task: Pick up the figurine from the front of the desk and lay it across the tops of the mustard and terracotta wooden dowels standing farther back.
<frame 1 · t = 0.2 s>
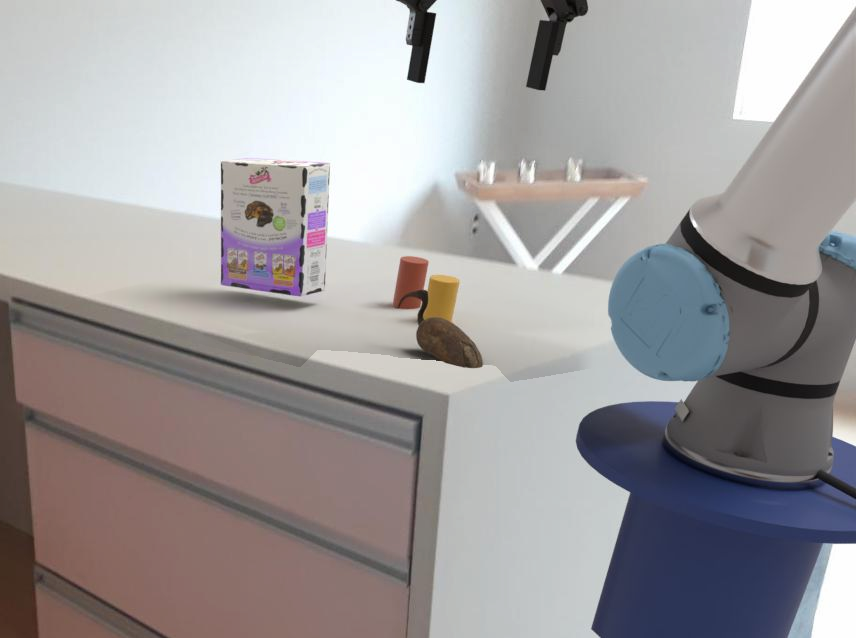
hand: (476, 85, 119), 30 cm above the worktop, tool pointing down, fingers open, 13 cm apart
yellow rod: (434, 333, 144), on the worktop
red rod: (405, 312, 152), on the worktop
figurine: (434, 373, 129), on the worktop
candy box: (271, 289, 155), point 1 cm above the worktop
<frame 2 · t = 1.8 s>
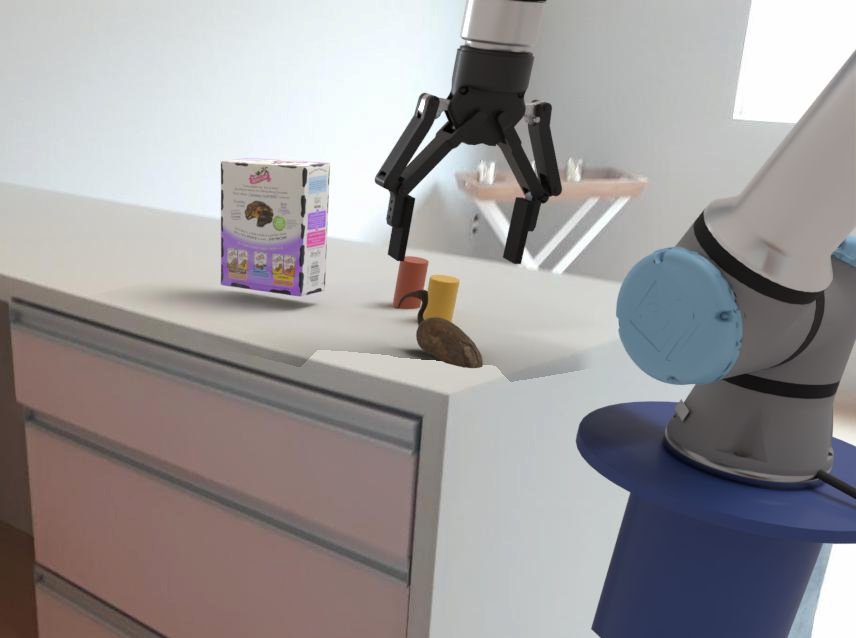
hand: (454, 259, 124), 13 cm above the worktop, tool pointing down, fingers open, 13 cm apart
nothing on the worktop moved.
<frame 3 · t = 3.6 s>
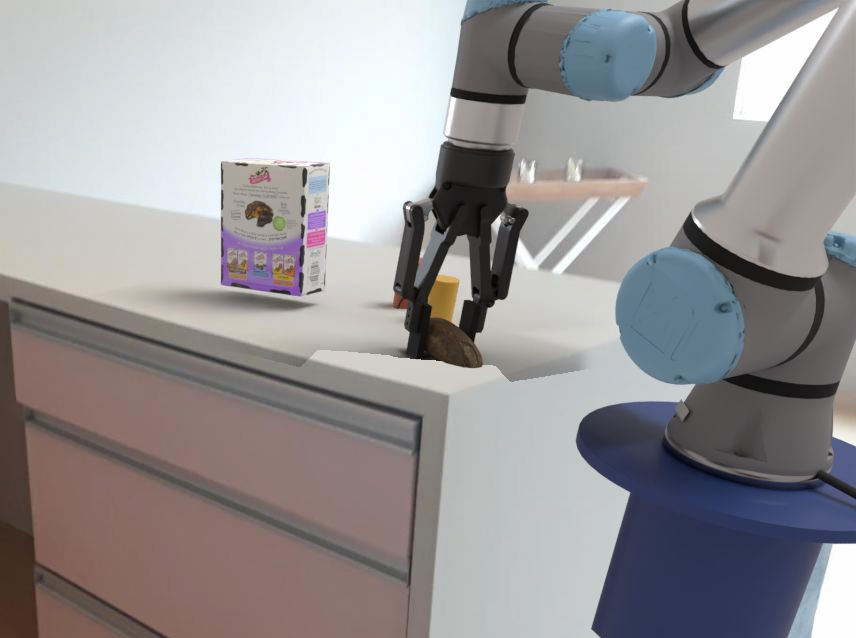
hand: (437, 359, 128), 2 cm above the worktop, tool pointing down, fingers closed on figurine, 5 cm apart
figurine: (433, 373, 129), on the worktop, touching gripper
everything else where it was.
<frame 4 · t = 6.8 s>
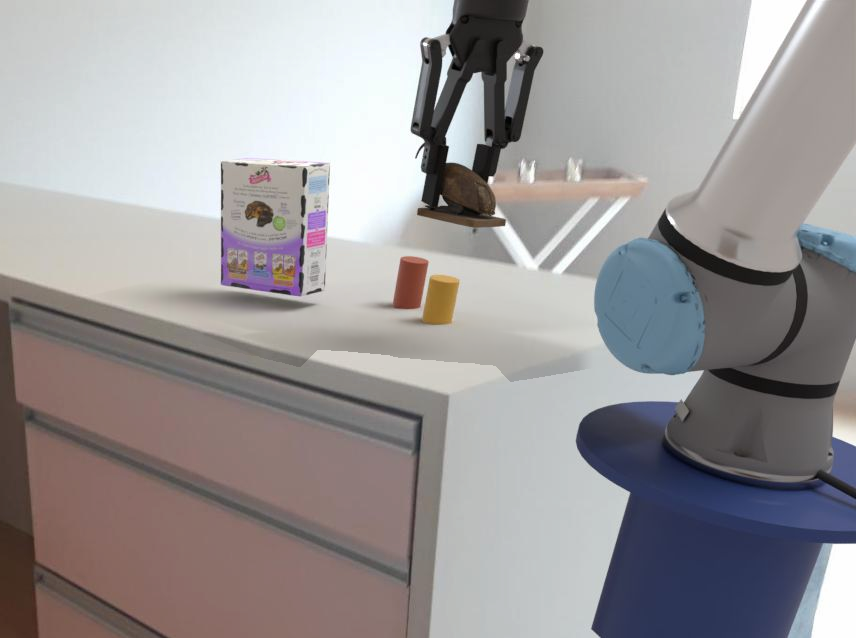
hand: (451, 204, 130), 17 cm above the worktop, tool pointing down, fingers closed on figurine, 5 cm apart
figurine: (447, 220, 131), point 15 cm above the worktop, touching gripper
everything else where it was.
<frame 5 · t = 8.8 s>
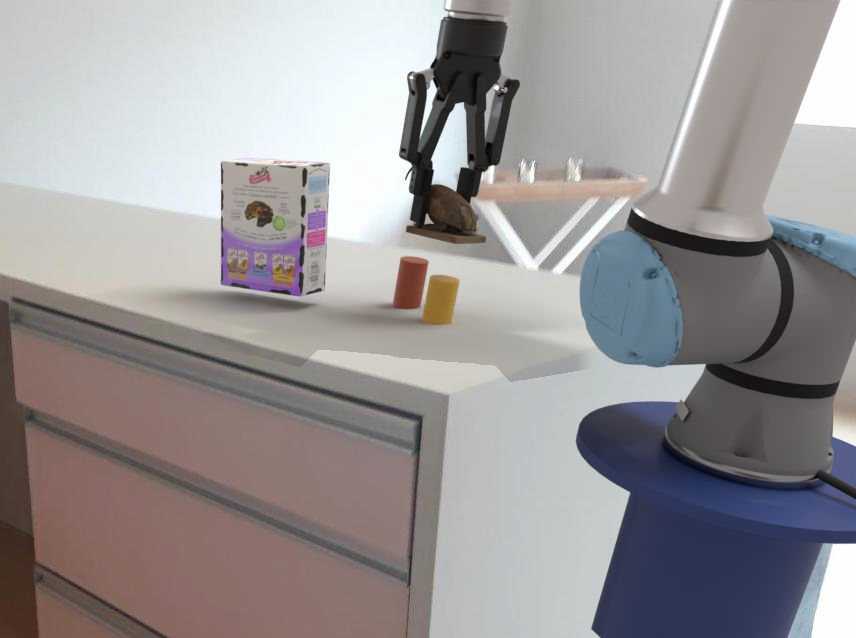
hand: (437, 222, 142), 13 cm above the worktop, tool pointing down, fingers closed on figurine, 5 cm apart
figurine: (433, 236, 143), point 11 cm above the worktop, touching gripper
everything else where it was.
when the fingers open (9 cm above the worktop, at t = 10.2 s): figurine stays where it is, resting on red rod, yellow rod.
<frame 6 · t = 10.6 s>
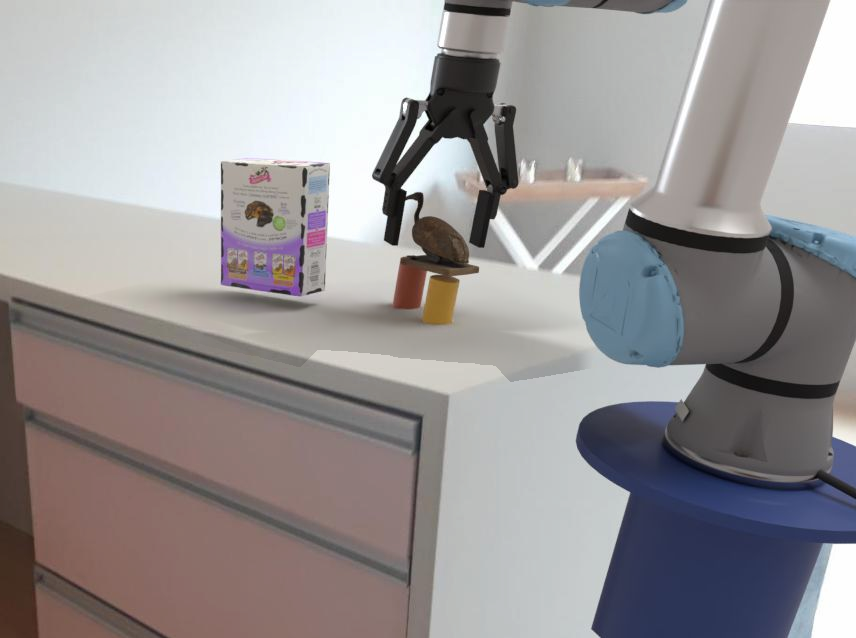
hand: (433, 244, 143), 10 cm above the worktop, tool pointing down, fingers open, 11 cm apart
figurine: (427, 267, 144), point 7 cm above the worktop, touching red rod, yellow rod
everything else where it was.
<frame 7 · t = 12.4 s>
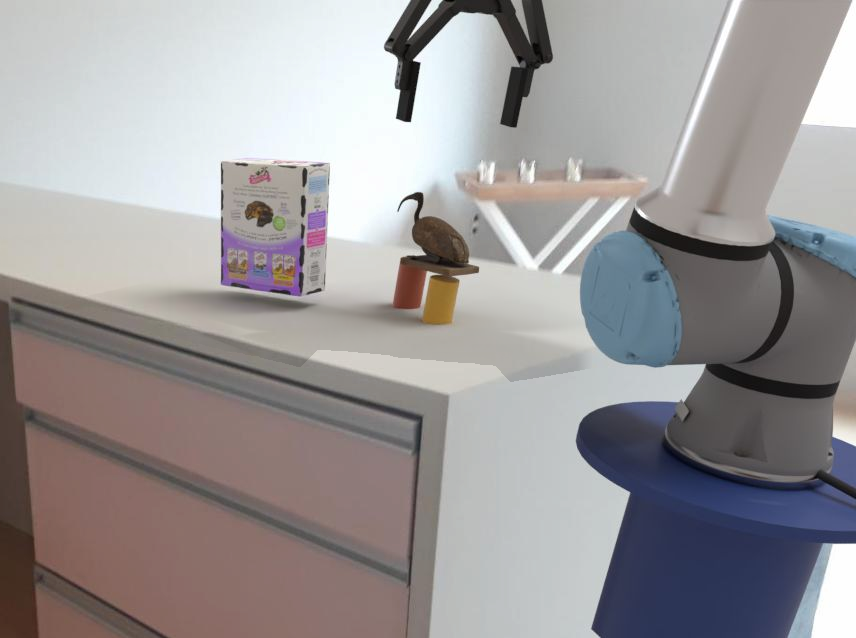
hand: (456, 123, 137), 24 cm above the worktop, tool pointing down, fingers open, 13 cm apart
nothing on the worktop moved.
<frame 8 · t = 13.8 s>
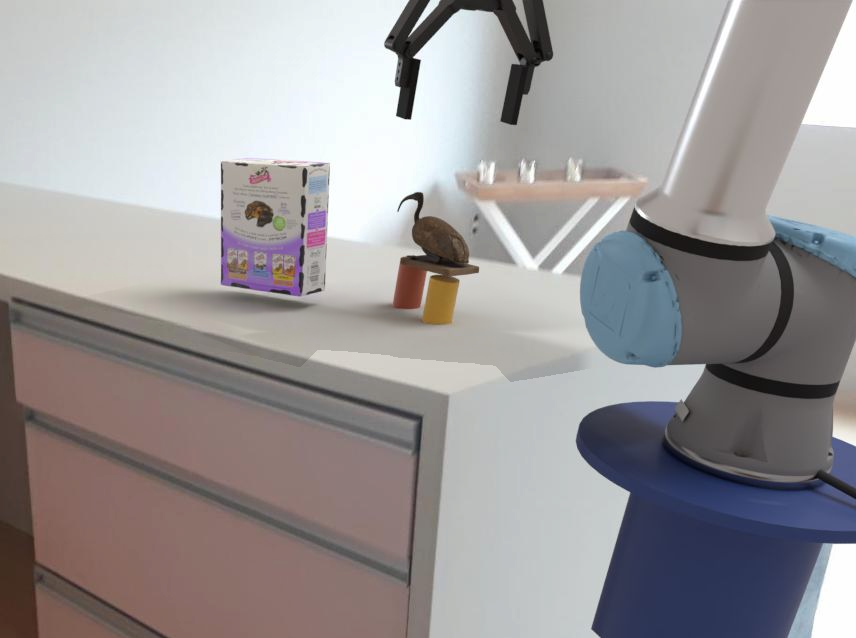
hand: (456, 121, 137), 25 cm above the worktop, tool pointing down, fingers open, 13 cm apart
nothing on the worktop moved.
at the end: figurine 0.3 cm from the target spot on the red rod, point 7.1 cm above the red rod's base; figurine touching red rod, yellow rod; the gripper is holding nothing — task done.
